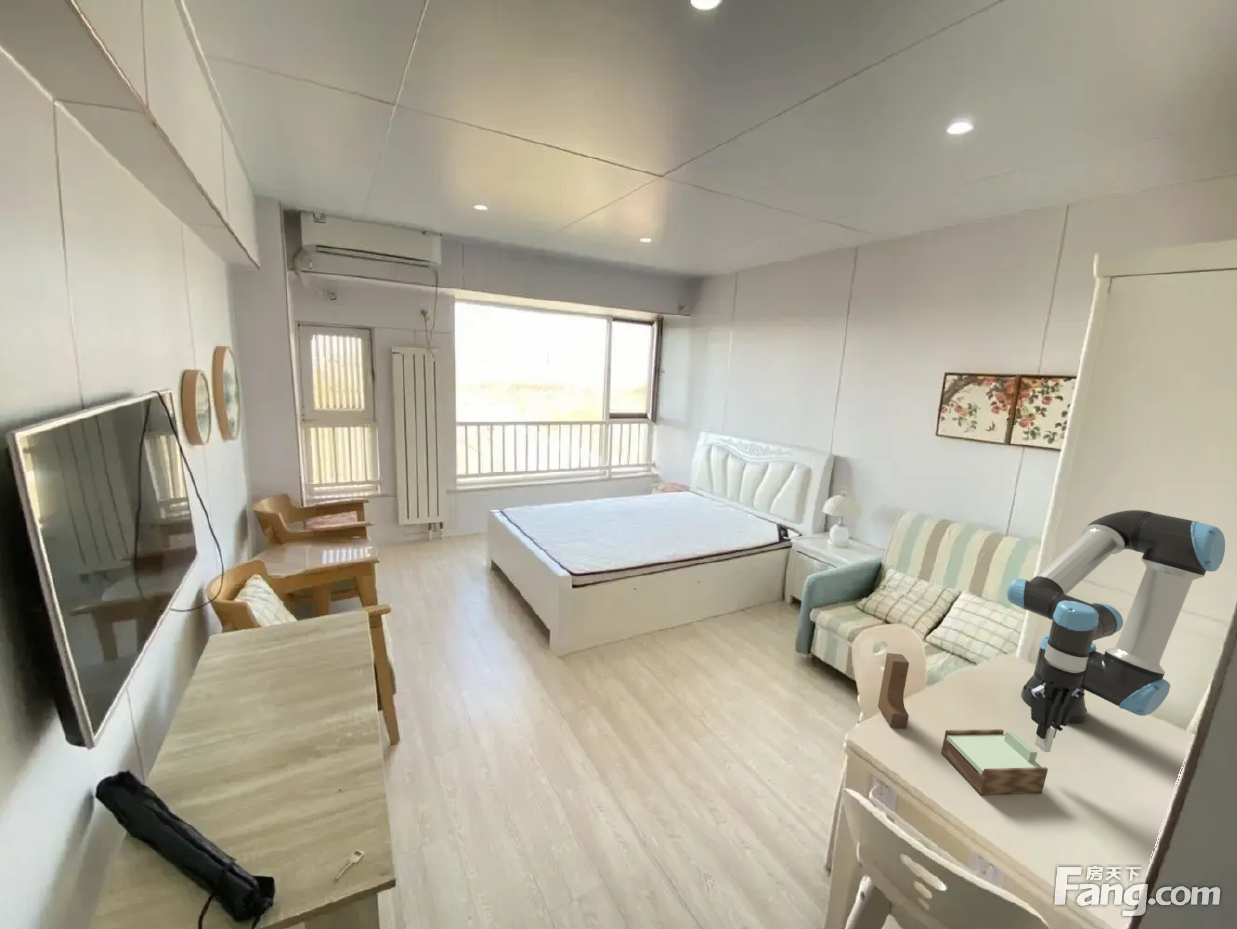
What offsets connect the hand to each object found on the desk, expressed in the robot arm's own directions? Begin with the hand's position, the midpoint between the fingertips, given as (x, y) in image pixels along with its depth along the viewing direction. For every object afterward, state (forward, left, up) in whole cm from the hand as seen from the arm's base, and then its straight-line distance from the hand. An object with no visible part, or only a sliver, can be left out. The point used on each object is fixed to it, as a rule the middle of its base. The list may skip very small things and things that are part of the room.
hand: (1042, 748), depth 124 cm
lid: (+13, 0, -2) cm, 13 cm away
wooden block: (+26, -20, -7) cm, 34 cm away
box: (+13, 0, -7) cm, 15 cm away
